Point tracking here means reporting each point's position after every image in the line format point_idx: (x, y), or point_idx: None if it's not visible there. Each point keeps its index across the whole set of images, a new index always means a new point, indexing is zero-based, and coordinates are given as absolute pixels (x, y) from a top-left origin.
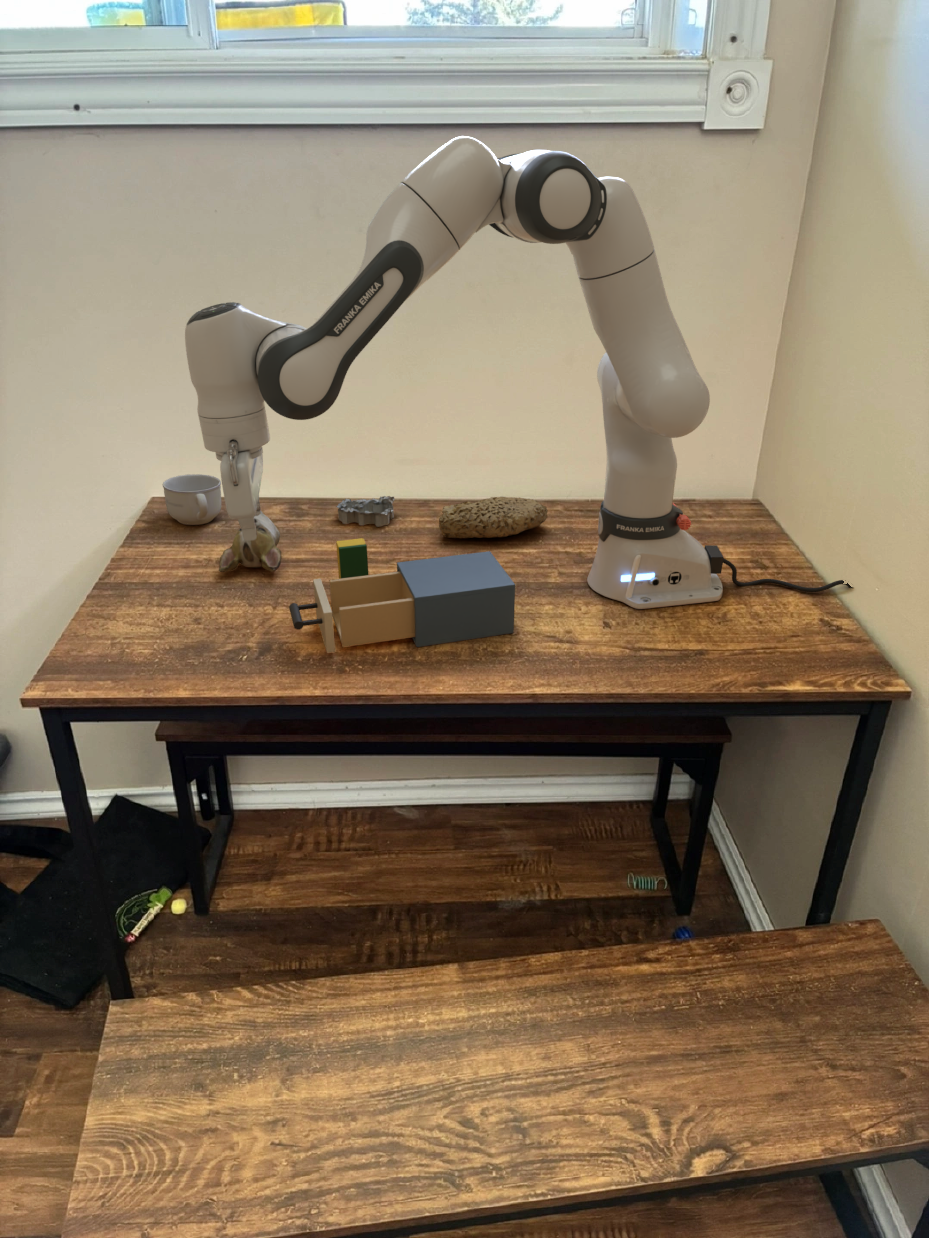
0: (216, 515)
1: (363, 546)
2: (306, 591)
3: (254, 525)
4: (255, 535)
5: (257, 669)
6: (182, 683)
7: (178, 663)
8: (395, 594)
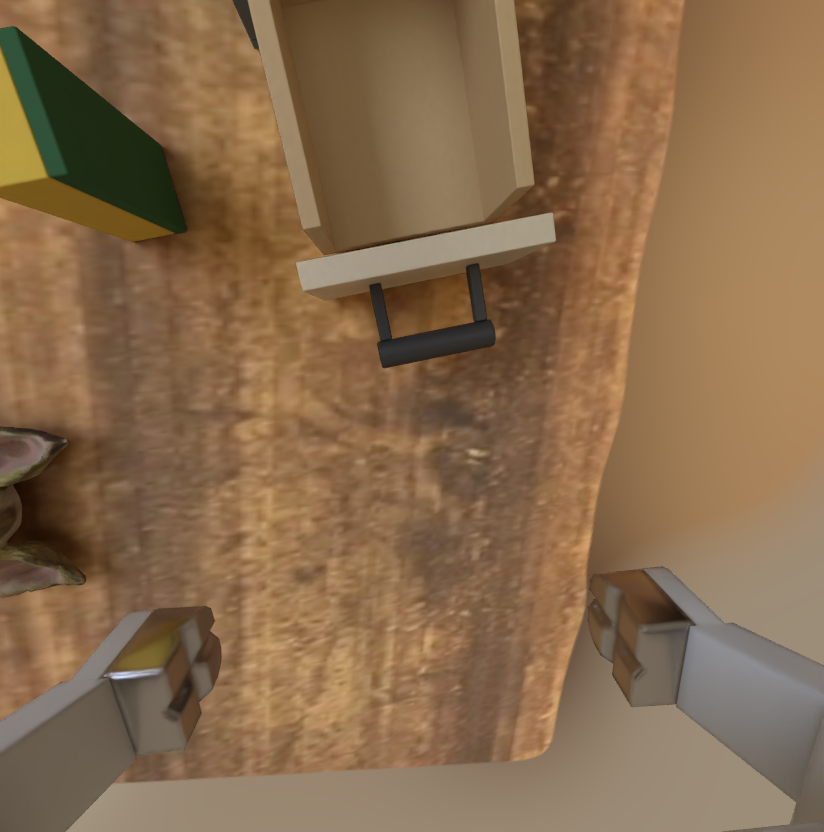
0: None
1: (22, 46)
2: (146, 340)
3: (769, 641)
4: (679, 582)
5: (527, 420)
6: (555, 551)
7: (482, 573)
8: (277, 4)
